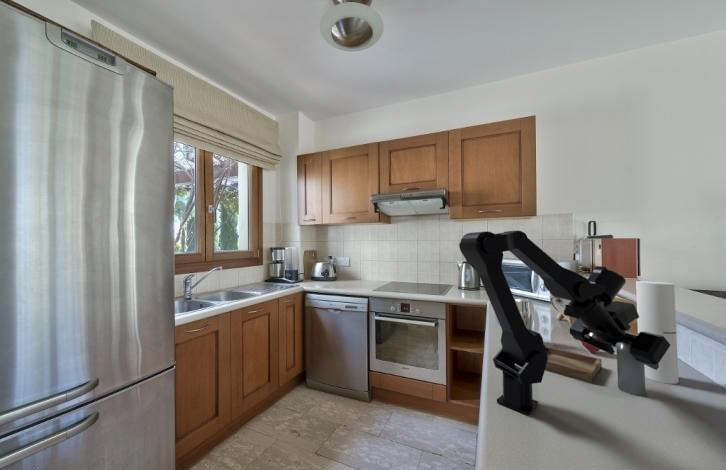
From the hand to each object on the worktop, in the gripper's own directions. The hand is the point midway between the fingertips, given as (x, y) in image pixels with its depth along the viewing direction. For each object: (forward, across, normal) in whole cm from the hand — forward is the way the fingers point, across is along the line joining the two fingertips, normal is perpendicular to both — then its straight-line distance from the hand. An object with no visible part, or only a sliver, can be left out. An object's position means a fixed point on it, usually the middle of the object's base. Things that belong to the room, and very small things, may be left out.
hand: (633, 360), depth 68 cm
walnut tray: (+2, +14, +8) cm, 16 cm away
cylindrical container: (+15, +4, -5) cm, 16 cm away
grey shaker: (+4, 0, +6) cm, 7 cm away
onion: (+15, +22, -5) cm, 27 cm away
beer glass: (+5, +36, +5) cm, 36 cm away
